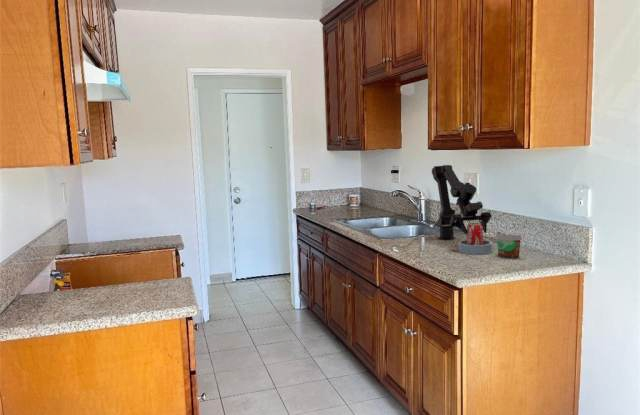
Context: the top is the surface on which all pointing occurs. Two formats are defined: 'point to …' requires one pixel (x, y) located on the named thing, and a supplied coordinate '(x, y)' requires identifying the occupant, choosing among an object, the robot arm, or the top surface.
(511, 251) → the food container
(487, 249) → the bowl
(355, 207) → the top surface
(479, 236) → the soda can
